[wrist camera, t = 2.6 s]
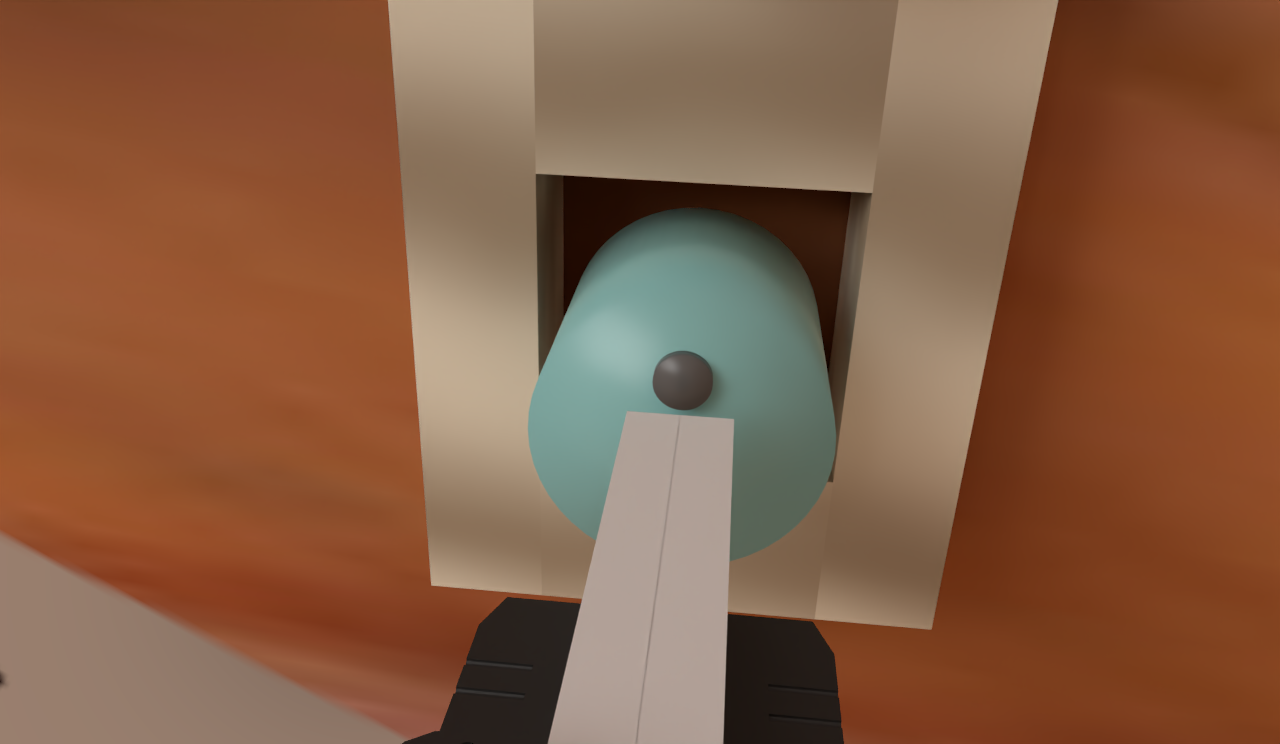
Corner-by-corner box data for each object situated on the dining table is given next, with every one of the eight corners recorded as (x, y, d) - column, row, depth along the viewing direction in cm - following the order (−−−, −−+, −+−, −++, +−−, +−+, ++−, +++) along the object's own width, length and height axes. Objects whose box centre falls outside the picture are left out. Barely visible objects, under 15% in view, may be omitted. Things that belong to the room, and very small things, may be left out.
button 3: (573, 199, 19) (522, 292, 15) (831, 215, 19) (855, 314, 14) (572, 424, 21) (528, 560, 17) (804, 441, 21) (818, 585, 16)
